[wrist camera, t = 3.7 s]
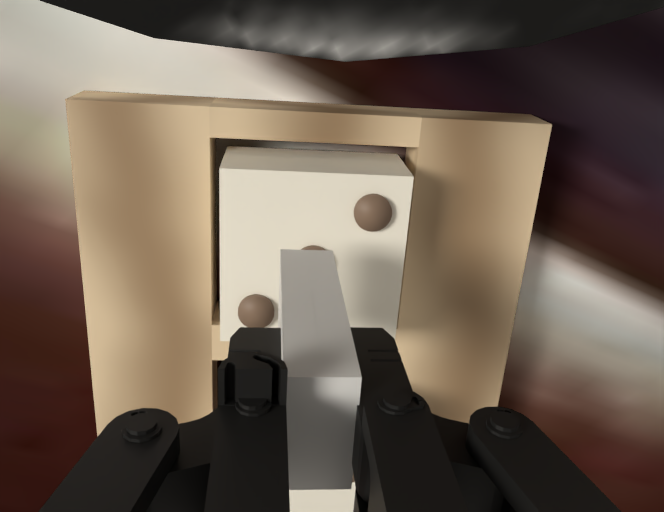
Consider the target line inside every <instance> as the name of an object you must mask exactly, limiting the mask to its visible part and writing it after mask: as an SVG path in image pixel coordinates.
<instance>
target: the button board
mask: <svg viewBox="0 0 664 512" xmlns="http://www.w3.org/2000/svg"><path fill="white" fill-rule="evenodd" d="M65 100H66V111H67V121H68V132H69V142H70V153H71V163H72V174H73V184H74V195H75V205H76V216H77V226H78V237H79V247H80V258H81V268H82V279H83V289H84V300H85V310H86V321H87V331H88V342H89V352H90V363H91V373H92V384H93V394H94V405H95V415H96V426H97V436H99V434H100V433H101V432H102V431H103V429H104V428H105V427H106V426H107V424H108V423H110V422H111V421H112V420H113V419H114V418H115V417H117V416H119V415H121V414H123V413H125V412H127V411H130V410H135V409H140V408H157V409H161V410H164V411H167V412H169V413H171V414H172V415H173V416H174V417H176V419H177V421H178V424H180V423H185V422H190V421H193V420H197V419H200V418H202V417H204V416H206V415H208V414H210V413H211V412H213V411H214V410H215V409H216V408H217V407H218V387H217V360H225V359H226V358H228V352H229V343H230V341H220V301H217V244H216V138H231V139H252V140H274V141H295V142H316V143H337V144H358V145H379V146H400V147H407V148H406V157H405V165H406V167H407V168H408V169H409V171H410V172H411V173H412V175H413V176H414V180H413V188H412V197H411V206H410V214H409V223H408V232H407V241H406V249H405V258H404V267H403V275H402V284H401V293H400V302H399V310H398V319H397V328H396V336H395V342H396V345H397V348H398V352H399V353H400V356H401V359H402V362H403V365H404V367H405V370H406V373H407V376H408V379H409V382H410V384H411V387H412V390H413V391H414V392H416V393H417V394H419V395H420V396H422V397H423V398H424V399H425V401H426V402H427V404H428V405H429V407H430V410H431V413H433V414H435V415H438V416H440V417H443V418H447V419H450V420H455V421H460V422H465V423H469V420H470V416H471V415H472V414H473V413H474V412H475V411H476V410H478V409H481V408H484V407H498V402H499V396H500V391H501V386H502V381H503V376H504V371H505V365H506V360H507V355H508V350H509V345H510V340H511V335H512V329H513V324H514V319H515V314H516V309H517V304H518V298H519V293H520V288H521V283H522V278H523V273H524V267H525V262H526V257H527V252H528V247H529V242H530V236H531V231H532V226H533V221H534V216H535V211H536V205H537V200H538V195H539V190H540V185H541V180H542V174H543V169H544V164H545V159H546V154H547V149H548V144H549V138H550V133H551V128H552V124H550V123H548V122H546V121H544V120H542V119H540V118H537V117H535V116H533V115H531V114H514V113H496V112H477V111H458V110H439V109H420V108H401V107H383V106H364V105H345V104H326V103H307V102H288V101H269V100H251V99H232V98H213V97H194V96H175V95H156V94H138V93H119V92H100V91H82V92H80V93H78V94H76V95H73V96H71V97H69V98H67V99H65Z"/></svg>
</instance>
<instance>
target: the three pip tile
mask: <svg viewBox="0 0 664 512" xmlns="http://www.w3.org/2000/svg"><path fill="white" fill-rule="evenodd" d="M413 180H414V176H413V175H412V173H411V172H410V171H409V169H408V168H407V167H406V165H405V164H404V163H403V161H402V160H401V158H400V157H399V156H398V154H388V153H367V152H345V151H324V150H302V149H280V148H259V147H237V146H227V149H226V152H225V154H224V157H223V160H222V162H221V165H220V168H219V220H220V341H230V337H231V336H232V335H233V334H234V333H235V332H236V331H237V330H238V329H239V328H240V327H260V328H278V306H279V276H280V249H292V250H329V251H333V255H334V259H335V263H336V268H337V272H338V276H339V281H340V285H341V289H342V294H343V298H344V302H345V307H346V311H347V315H348V320H349V324H350V327H363V328H383V329H384V330H385V331H387V332H388V333H389V334H390V335H391V336H392V337H393V338H394V339H395V336H396V328H397V319H398V310H399V302H400V293H401V284H402V275H403V267H404V258H405V249H406V241H407V232H408V223H409V214H410V206H411V197H412V188H413Z"/></svg>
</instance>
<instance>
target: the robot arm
mask: <svg viewBox="0 0 664 512" xmlns="http://www.w3.org/2000/svg"><path fill="white" fill-rule="evenodd" d="M353 474H354V480H355V486H356V489H355V499H354V510H353V512H621V511H620V510H619V509H618V508H617V507H616V506H615V505H614V504H613V503H612V502H611V501H610V500H609V499H608V498H607V497H606V496H605V495H604V494H603V493H602V492H601V490H600V489H599V488H598V487H597V486H596V485H595V484H594V483H593V482H592V481H591V480H590V479H589V478H588V477H587V476H586V475H585V474H584V473H583V472H582V471H581V470H580V469H579V468H578V467H577V466H576V465H575V464H574V463H573V462H572V461H571V460H570V459H569V458H568V457H567V456H566V455H565V454H564V453H563V452H562V451H561V450H560V449H559V448H558V447H557V446H556V445H555V444H554V443H553V442H552V441H551V440H550V439H549V438H548V437H547V436H546V435H545V434H544V433H543V432H542V431H541V430H540V429H539V428H538V427H537V426H536V425H535V423H534V422H532V421H531V420H530V419H528V418H527V417H526V416H524V415H523V414H521V413H519V412H516V411H514V410H512V409H508V408H503V407H484V408H481V409H478V410H476V411H475V412H474V413H473V414H472V415H471V416H470V420H469V423H465V422H460V421H455V420H450V419H447V418H443V417H440V416H438V415H435V414H433V413H431V410H430V407H429V405H428V404H427V402H426V401H425V399H424V398H423V397H422V396H420V395H419V394H417V393H416V392H414V391H413V390H412V387H411V384H410V382H409V379H408V376H407V373H406V370H405V367H404V365H403V362H402V359H401V356H400V353H399V352H398V348H397V345H396V342H395V339H394V338H393V337H392V336H391V335H390V334H389V333H388V332H387V331H385V330H384V329H383V328H363V327H350V324H349V320H348V315H347V311H346V307H345V302H344V298H343V294H342V289H341V285H340V281H339V276H338V272H337V268H336V263H335V259H334V255H333V251H329V250H292V249H280V276H279V306H278V328H260V327H240V328H239V329H238V330H237V331H236V332H235V333H234V334H233V335H232V336H231V337H230V343H229V352H228V358H226V359H225V360H223V361H222V362H221V364H220V366H219V368H218V407H217V408H216V409H215V410H214V411H213V412H211V413H210V414H208V415H206V416H204V417H202V418H200V419H197V420H193V421H190V422H185V423H180V424H178V421H177V419H176V417H174V416H173V415H172V414H171V413H169V412H167V411H164V410H161V409H157V408H140V409H135V410H130V411H127V412H125V413H123V414H121V415H119V416H117V417H115V418H114V419H113V420H112V421H111V422H110V423H108V424H107V426H106V427H105V428H104V429H103V431H102V432H101V433H100V434H99V436H98V437H97V438H96V440H95V441H94V442H93V443H92V445H91V446H90V447H89V448H88V450H87V451H86V452H85V453H84V455H83V456H82V457H81V459H80V460H79V461H78V462H77V464H76V465H75V466H74V467H73V469H72V470H71V471H70V472H69V474H68V475H67V476H66V478H65V479H64V480H63V481H62V483H61V484H60V485H59V486H58V488H57V489H56V490H55V492H54V493H53V494H52V495H51V497H50V498H49V499H48V500H47V502H46V503H45V504H44V505H43V507H42V508H41V509H40V511H39V512H290V500H289V490H335V489H351V488H352V477H353Z"/></svg>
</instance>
